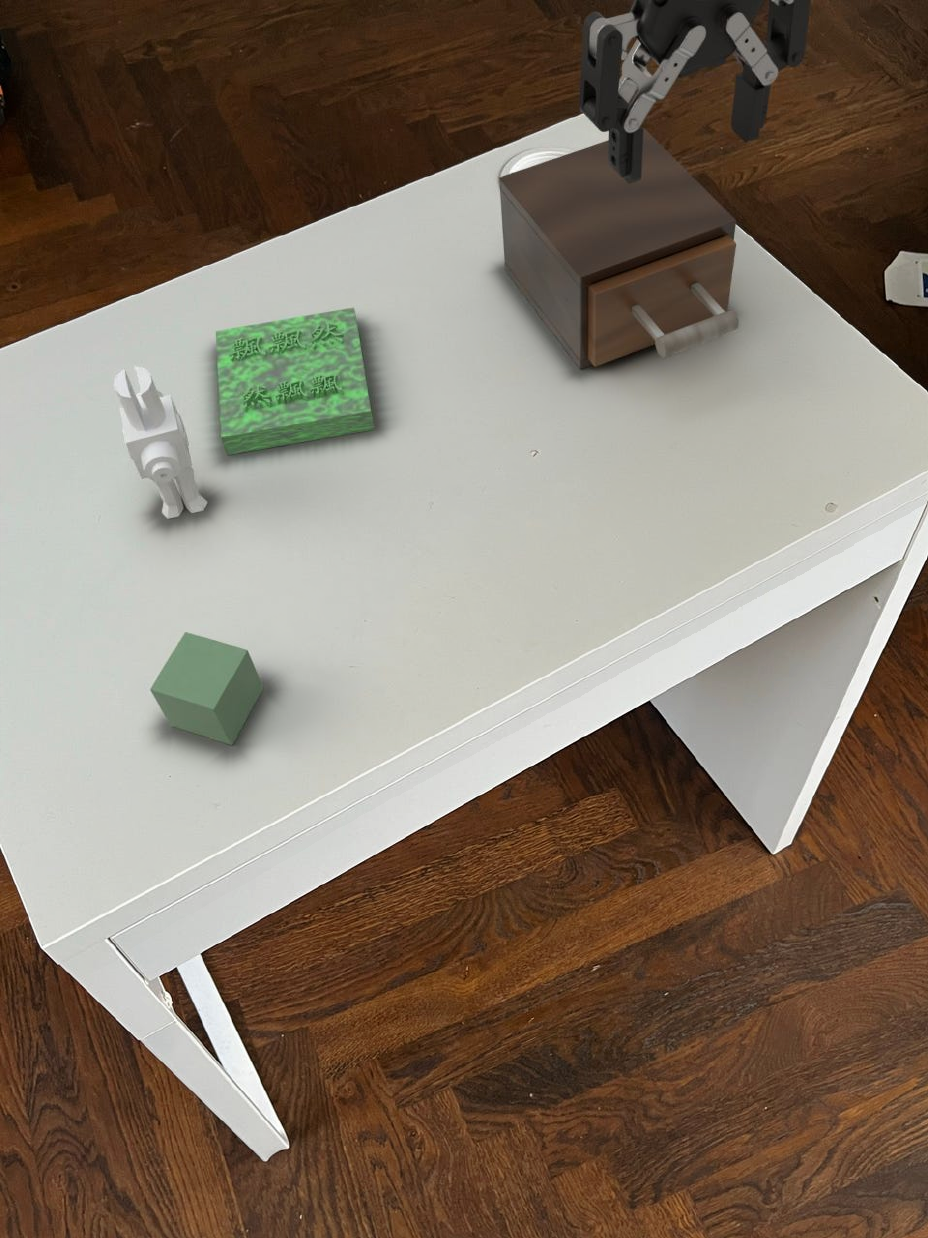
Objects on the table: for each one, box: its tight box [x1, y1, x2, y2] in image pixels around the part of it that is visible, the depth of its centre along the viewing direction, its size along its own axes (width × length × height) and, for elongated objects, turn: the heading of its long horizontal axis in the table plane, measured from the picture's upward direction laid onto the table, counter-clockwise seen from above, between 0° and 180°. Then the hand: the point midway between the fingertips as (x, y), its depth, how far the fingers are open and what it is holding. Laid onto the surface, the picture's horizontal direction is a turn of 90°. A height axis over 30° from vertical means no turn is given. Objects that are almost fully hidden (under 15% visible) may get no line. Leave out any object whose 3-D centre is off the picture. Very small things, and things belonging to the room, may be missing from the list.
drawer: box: [588, 235, 739, 368], centre depth 88 cm, size 18×12×7 cm, turn 24°
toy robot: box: [113, 365, 208, 520], centre depth 80 cm, size 4×8×12 cm, turn 17°
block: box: [149, 631, 264, 746], centre depth 72 cm, size 4×4×4 cm
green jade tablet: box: [215, 306, 375, 456], centre depth 89 cm, size 11×12×2 cm
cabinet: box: [498, 127, 737, 370], centre depth 90 cm, size 14×13×9 cm
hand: (686, 155), depth 74 cm, fingers open, 8 cm apart
